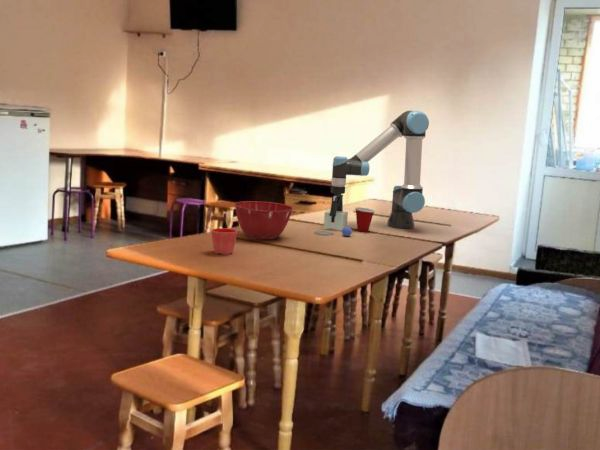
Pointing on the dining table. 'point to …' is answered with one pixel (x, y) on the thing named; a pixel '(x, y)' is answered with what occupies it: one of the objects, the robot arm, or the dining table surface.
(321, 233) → the grey spot
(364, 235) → the dining table surface
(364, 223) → the plastic cup
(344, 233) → the ball
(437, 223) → the dining table surface
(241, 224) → the mixing bowl
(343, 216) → the pale green brick
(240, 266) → the dining table surface
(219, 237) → the flower pot
